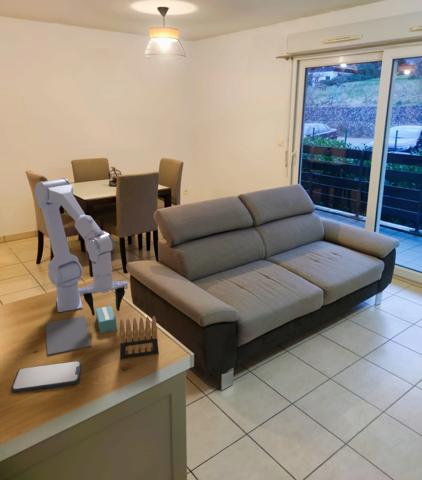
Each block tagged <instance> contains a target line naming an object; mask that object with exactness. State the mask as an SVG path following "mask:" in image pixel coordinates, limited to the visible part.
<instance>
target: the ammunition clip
mask: <svg viewBox="0 0 422 480" xmlns="http://www.w3.org/2000/svg"><path fill="white" fill-rule="evenodd" d="M132 320H133V321H132V324H131V321H130V319H129V318H127V320H126V323H125V324H124V320H123V319H120V320H119V335H118V336H119V357H120V358H119V359H120V360H125V359H133V358H139V357H146V356H153V355H159V353H160V352H159V351H160V350H159V342H158V327H157V319H156V316H155V315H153V316H152V319H151V320H150V317H149V316H146V318H145V326H144V319H143V317H142V316H141V317H140V318H139V323H138V322H137V319H136V317H134V318H133V319H132ZM131 325H132V327H131ZM138 325H139V326H138ZM125 329H126V330H125Z"/></svg>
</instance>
